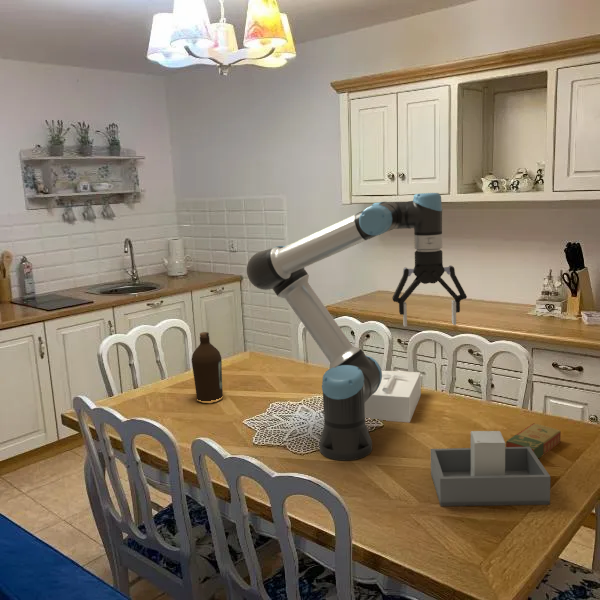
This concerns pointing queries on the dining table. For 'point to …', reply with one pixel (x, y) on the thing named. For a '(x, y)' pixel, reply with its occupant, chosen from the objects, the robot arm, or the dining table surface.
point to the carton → (536, 439)
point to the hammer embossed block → (395, 397)
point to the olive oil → (207, 370)
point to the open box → (489, 479)
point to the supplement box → (487, 453)
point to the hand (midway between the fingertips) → (429, 324)
